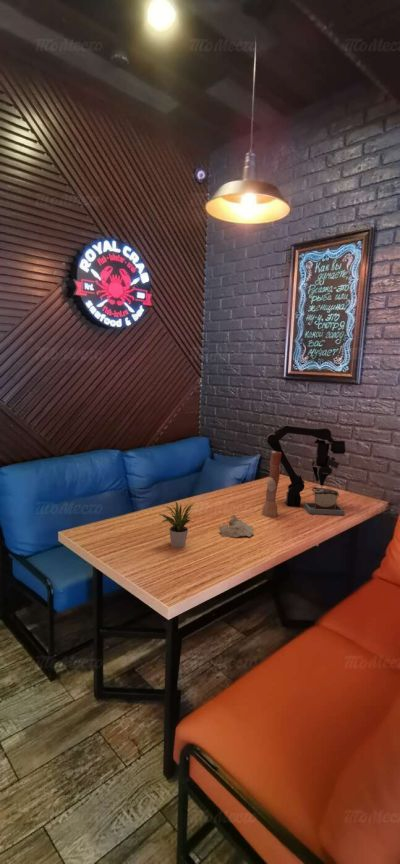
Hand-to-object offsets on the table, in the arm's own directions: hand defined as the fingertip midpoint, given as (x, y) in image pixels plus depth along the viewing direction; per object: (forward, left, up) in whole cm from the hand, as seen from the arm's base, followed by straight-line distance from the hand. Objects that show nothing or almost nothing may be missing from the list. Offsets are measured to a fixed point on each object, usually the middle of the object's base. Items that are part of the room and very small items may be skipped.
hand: (319, 483), depth 213 cm
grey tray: (+1, -7, -12) cm, 14 cm away
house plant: (-68, -53, -12) cm, 87 cm away
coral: (-45, -38, -13) cm, 60 cm away
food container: (+1, -5, -12) cm, 13 cm away
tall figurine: (-26, -14, -12) cm, 32 cm away
